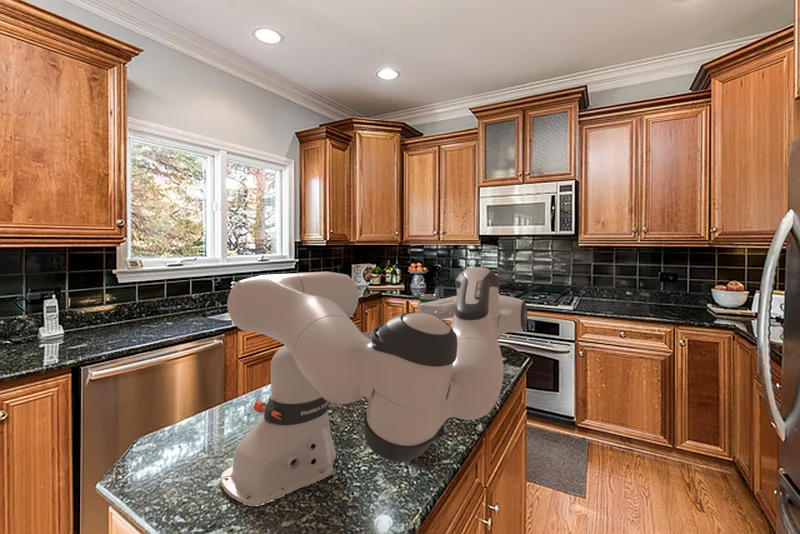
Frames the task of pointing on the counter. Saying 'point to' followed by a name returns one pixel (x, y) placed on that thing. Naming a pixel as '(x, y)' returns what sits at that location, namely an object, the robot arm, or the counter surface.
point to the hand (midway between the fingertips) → (426, 303)
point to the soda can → (427, 298)
